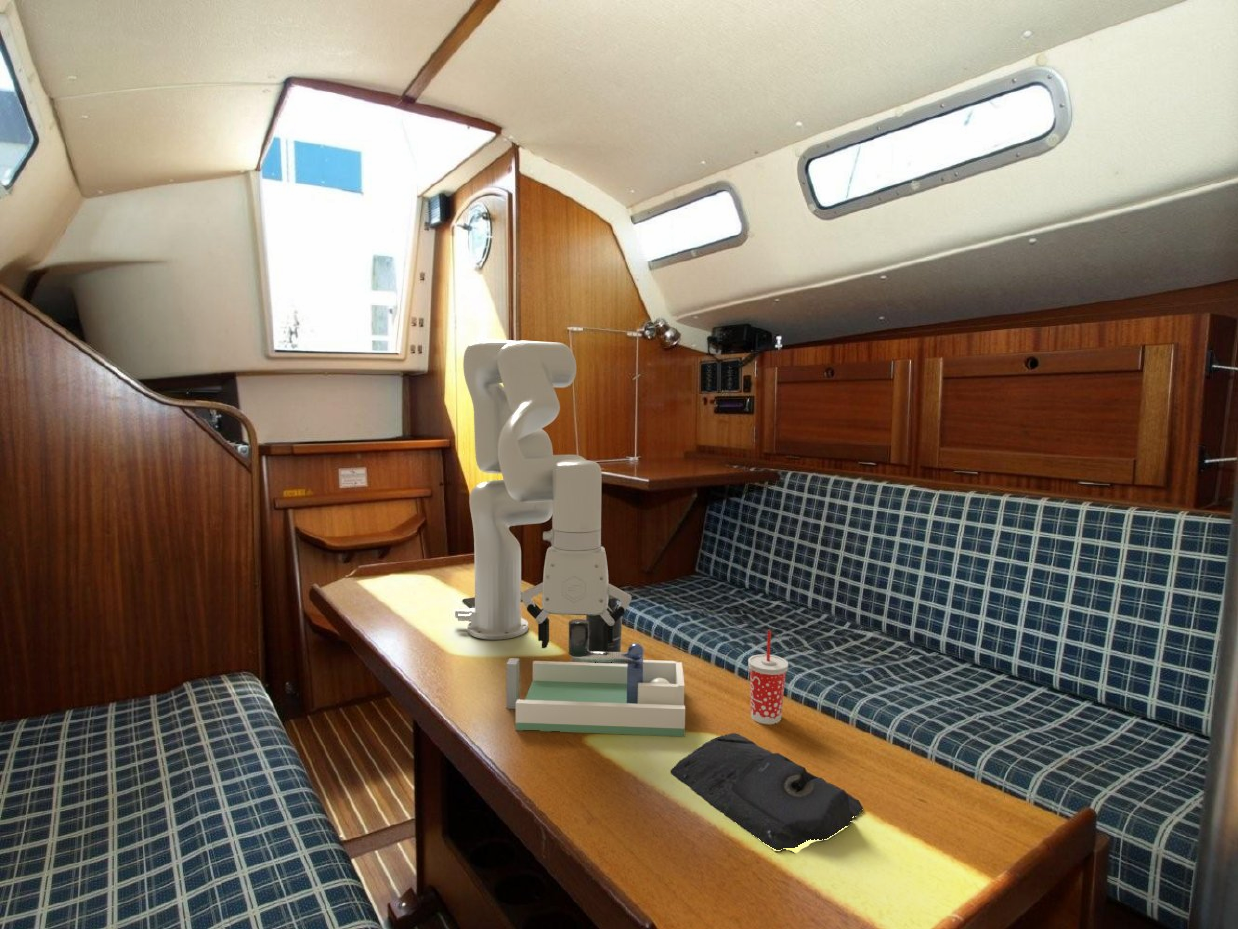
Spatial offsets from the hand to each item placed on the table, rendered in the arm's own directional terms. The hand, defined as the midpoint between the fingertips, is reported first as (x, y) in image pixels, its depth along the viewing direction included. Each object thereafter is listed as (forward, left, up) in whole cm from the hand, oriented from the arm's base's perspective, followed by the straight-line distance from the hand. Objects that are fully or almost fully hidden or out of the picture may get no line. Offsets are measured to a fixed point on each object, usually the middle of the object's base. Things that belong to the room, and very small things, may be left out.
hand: (575, 646), depth 108 cm
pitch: (+3, 0, -10) cm, 11 cm away
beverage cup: (+30, -1, -10) cm, 32 cm away
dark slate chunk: (+26, -21, -11) cm, 35 cm away
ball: (+13, 0, -7) cm, 15 cm away
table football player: (+5, 0, -8) cm, 10 cm away
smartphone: (-25, +54, -11) cm, 61 cm away
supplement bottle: (+3, +21, -10) cm, 24 cm away
